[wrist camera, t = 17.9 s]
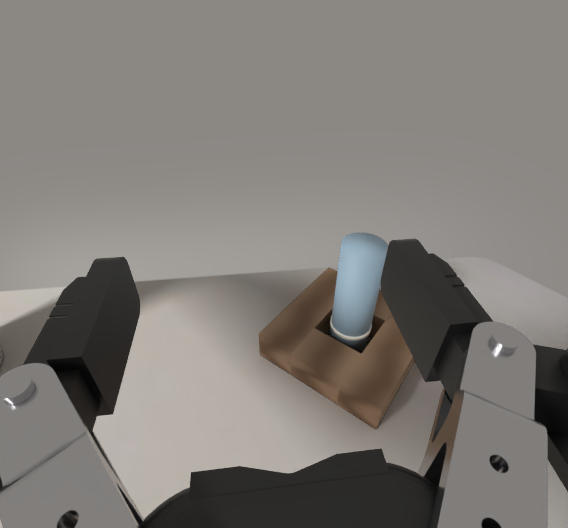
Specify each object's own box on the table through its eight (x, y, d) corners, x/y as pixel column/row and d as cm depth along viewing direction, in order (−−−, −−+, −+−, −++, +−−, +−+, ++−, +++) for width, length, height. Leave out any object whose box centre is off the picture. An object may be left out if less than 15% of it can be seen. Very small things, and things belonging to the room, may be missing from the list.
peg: (320, 348, 46) (331, 247, 36) (339, 325, 49) (354, 227, 39) (354, 368, 44) (376, 266, 34) (372, 343, 47) (397, 242, 37)
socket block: (260, 354, 45) (258, 333, 43) (326, 287, 55) (328, 267, 53) (375, 429, 38) (382, 409, 35) (428, 336, 48) (436, 315, 45)
